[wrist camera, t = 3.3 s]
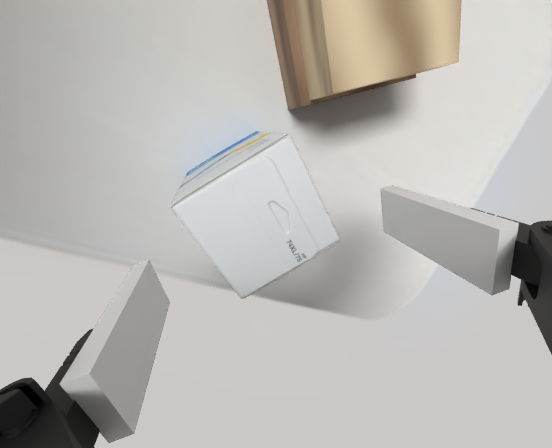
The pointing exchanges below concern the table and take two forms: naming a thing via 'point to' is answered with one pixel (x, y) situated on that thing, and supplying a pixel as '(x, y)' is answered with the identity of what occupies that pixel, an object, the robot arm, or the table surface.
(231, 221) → the ink box
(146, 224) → the table surface
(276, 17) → the tower base
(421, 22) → the tower top
